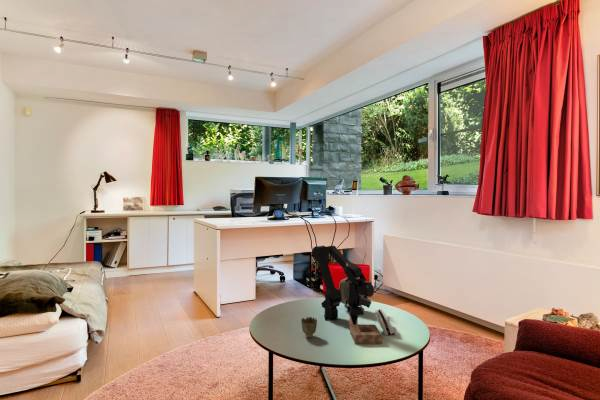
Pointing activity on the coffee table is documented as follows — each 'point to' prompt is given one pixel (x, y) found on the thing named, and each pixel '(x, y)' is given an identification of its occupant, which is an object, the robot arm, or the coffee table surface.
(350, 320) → the peg
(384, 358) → the coffee table surface
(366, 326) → the hole block
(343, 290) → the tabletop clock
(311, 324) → the cup
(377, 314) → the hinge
